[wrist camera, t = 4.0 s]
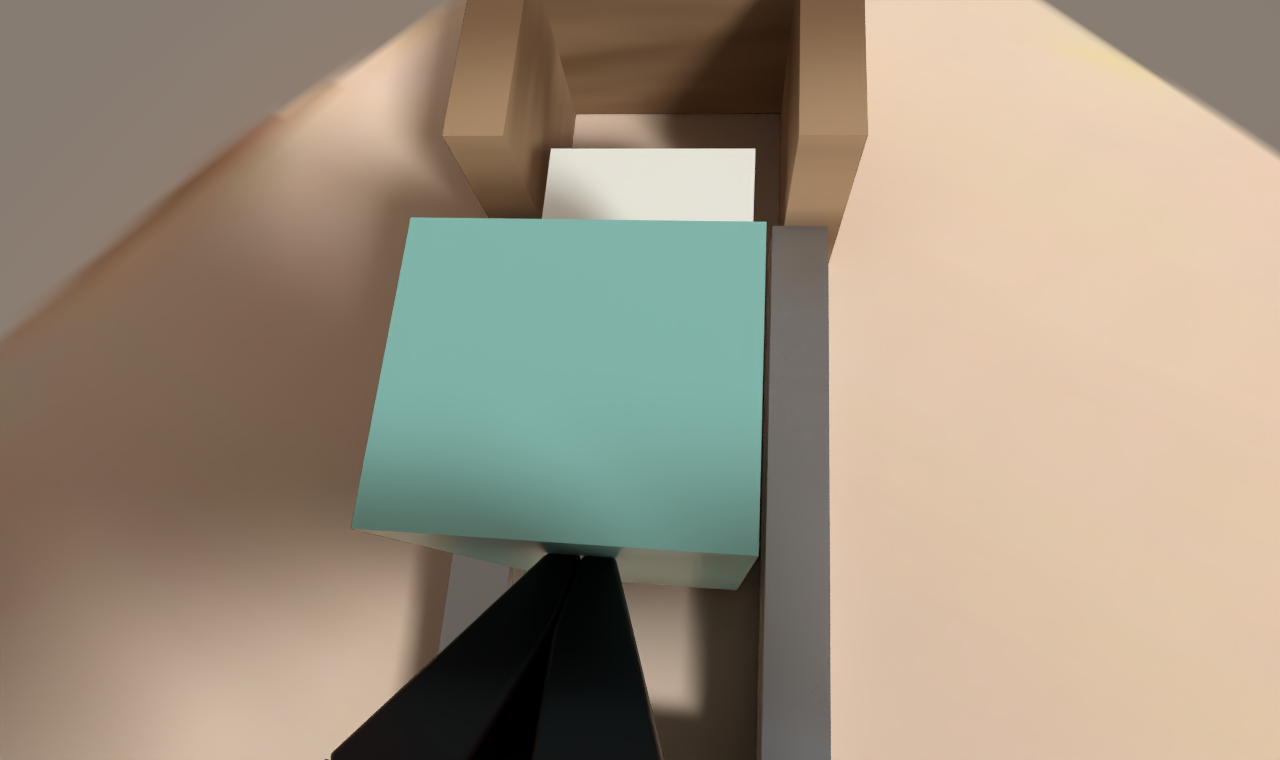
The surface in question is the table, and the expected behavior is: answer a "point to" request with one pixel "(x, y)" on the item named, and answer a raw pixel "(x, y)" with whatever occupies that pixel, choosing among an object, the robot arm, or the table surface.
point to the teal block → (582, 374)
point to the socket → (659, 87)
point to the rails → (763, 512)
